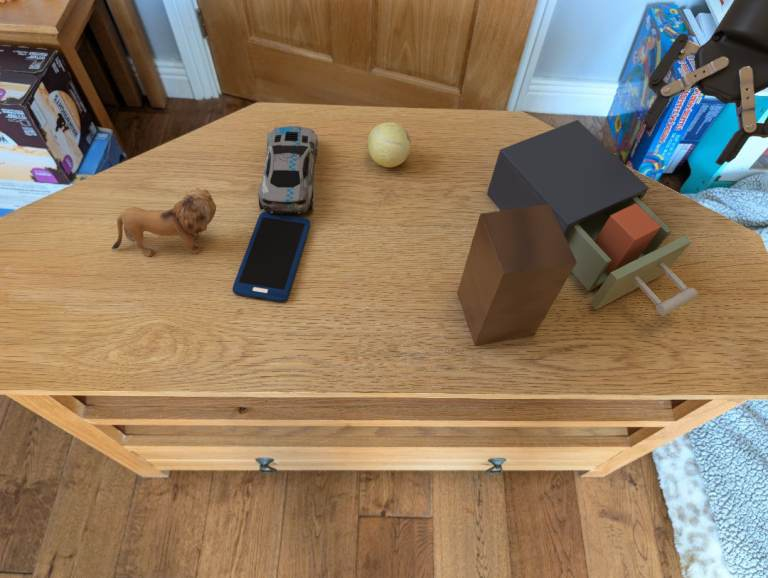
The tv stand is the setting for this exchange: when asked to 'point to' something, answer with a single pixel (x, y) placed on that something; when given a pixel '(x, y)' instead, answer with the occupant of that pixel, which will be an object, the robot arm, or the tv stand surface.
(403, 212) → the tv stand surface
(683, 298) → the drawer
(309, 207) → the toy car
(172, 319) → the tv stand surface
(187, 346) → the tv stand surface
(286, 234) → the cell phone
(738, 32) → the robot arm
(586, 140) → the cabinet
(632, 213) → the block
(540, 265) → the stand
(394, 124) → the tennis ball
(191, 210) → the lion figurine
